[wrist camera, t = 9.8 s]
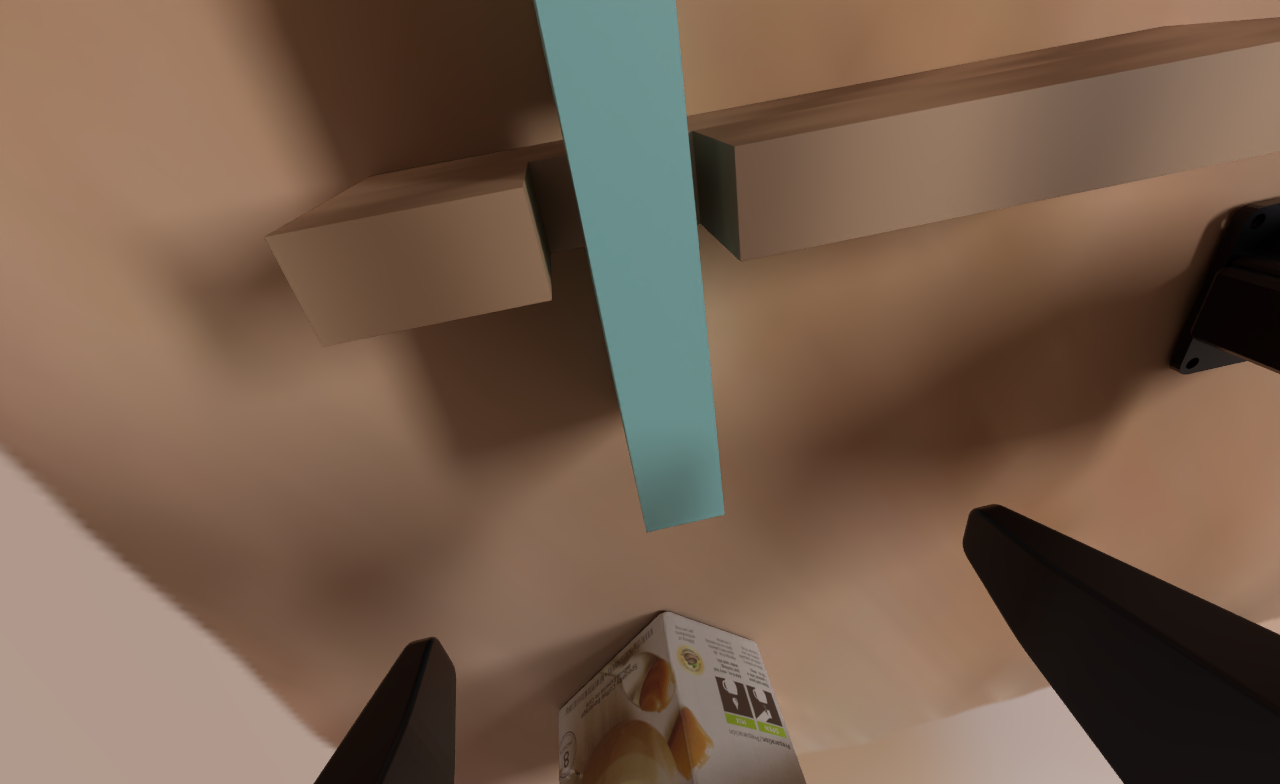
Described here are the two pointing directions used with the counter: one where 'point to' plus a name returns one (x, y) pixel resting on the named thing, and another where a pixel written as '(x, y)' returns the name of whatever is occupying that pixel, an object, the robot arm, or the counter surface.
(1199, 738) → the robot arm
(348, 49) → the counter surface
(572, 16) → the crossbar
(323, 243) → the rail
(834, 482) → the counter surface
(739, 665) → the coffee box
